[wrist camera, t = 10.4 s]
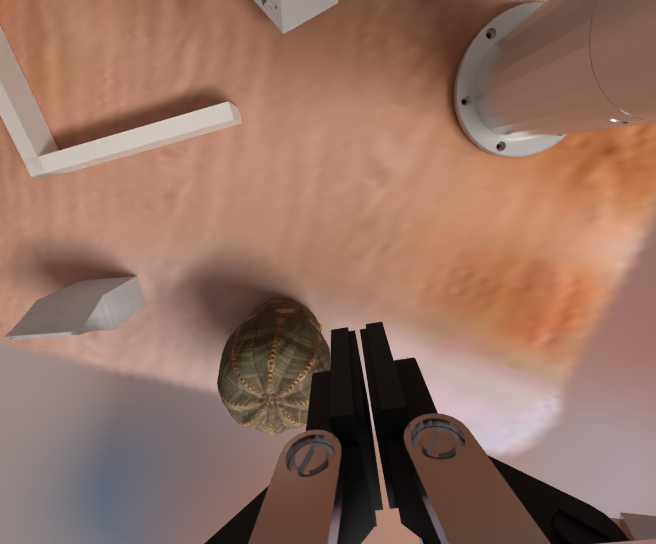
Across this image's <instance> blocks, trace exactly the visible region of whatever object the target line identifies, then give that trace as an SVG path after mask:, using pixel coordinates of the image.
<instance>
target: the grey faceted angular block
mask: <svg viewBox="0 0 656 544" xmlns="http://www.w3.org/2000/svg"><path fill="white" fill-rule="evenodd" d="M144 306H145V302H144V299H143V295H142V292H141V288H140V285H139V281H138V277H137V276H130V277H118V278H106V279H94V280H82V281H78V282H76V283H74V284H72V285H69V286H67V287H65V288H63V289H61V290H59V291H56V292H54V293H52V294H50V295H48V296H45V297H43V298H41V299H39V300H37V301H36V302H35V303H34V304H33V306H32V307H31V308H30V309H29V311H28V312H27V313H26V314H25V316H24V317H23V318H22V319H21V321H20V322H19V323H18V324H17V325H16V326H15V327H14V328H13V329H12V331H11V332H9V333H8V334H7V335H6V336H4V337H10V339H8V340H18V339H31V338H44V337H58V336H71V335H80V334H83V333H85V332H90V331H98V330H111V329H115V328H116V327H117V326H119V325H120V324H121V323H123V322H124V321H125V320H127V319H128V318H129V317H131V316H132V315H133V314H135V313H136V312H137V311H139V310H140V309H141V308H143V307H144Z"/></svg>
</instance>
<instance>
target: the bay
mask: <svg viewBox="0 0 656 544" xmlns="http://www.w3.org/2000/svg"><path fill="white" fill-rule="evenodd" d="M0 116H1V118H2V120H3V122H4V123H5V125H6V127H7V129H8V131H9V133H10V135H11V137H12V139H13V141H14V143H15V145H16V147H17V149H18V151H19V153H20V155H21V157H22V159H23V161H24V163H25V165H26V167H27V169H28V171H29V173H30V175H31V177H44V176H58V175H62V174H65V173H69V172H72V171H76V170H79V169H83V168H86V167H90V166H93V165H97V164H100V163H104V162H107V161H111V160H115V159H118V158H122V157H125V156H129V155H132V154H136V153H139V152H143V151H146V150H150V149H153V148H157V147H160V146H164V145H167V144H171V143H174V142H178V141H182V140H185V139H189V138H192V137H196V136H199V135H203V134H206V133H210V132H213V131H217V130H220V129H224V128H227V127H231V126H234V125H238V124H242V120H241V116H240V113H239V110H238V107H237V106H235V105H234V104H232V103H230V102H229V101H228V102H224V103H221V104H218V105H214V106H211V107H207V108H204V109H200V110H197V111H193V112H190V113H187V114H183V115H180V116H176V117H173V118H169V119H166V120H163V121H159V122H156V123H152V124H149V125H145V126H142V127H138V128H135V129H132V130H128V131H125V132H121V133H118V134H114V135H111V136H108V137H104V138H101V139H97V140H94V141H90V142H87V143H83V144H80V145H77V146H73V147H70V148H66V149H63V150H59V149H58V147H57V145H56V143H55V141H54V139H53V136H52V134H51V132H50V130H49V128H48V126H47V124H46V121H45V119H44V117H43V115H42V113H41V111H40V109H39V106H38V104H37V102H36V100H35V98H34V96H33V94H32V92H31V89H30V87H29V85H28V83H27V81H26V79H25V77H24V74H23V72H22V70H21V68H20V66H19V64H18V62H17V59H16V57H15V55H14V53H13V51H12V49H11V47H10V45H9V42H8V40H7V38H6V36H5V34H4V32H3V30H2V27H1V25H0Z"/></svg>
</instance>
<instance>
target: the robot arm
mask: <svg viewBox="0 0 656 544" xmlns="http://www.w3.org/2000/svg"><path fill="white" fill-rule="evenodd" d="M486 34H488V35H489V39H488V38H487V36H486ZM462 100H465V104H464V105H462V102H461V101H462ZM454 106H455V111H456V115H457V119H458V122H459V124H460V126H461V128H462V130H463V132H464V133H465V134H466V136H467V137H468V138H469V139H470V141H471V142H472V143H474V144H475V145H476V146H477V147H479V148H480V149H482V150H483V151H485V152H487V153H489V154H492V155H496V156H500V157H525V156H529V155H533V154H537V153H539V152H541V151H544V150H546V149H548V148H550V147H552V146H553V145H555V144H556V143H558V142H559V141H561V140H562V139H563V138H564V137H565V136H566V135H567V134H570V133H578V132H586V131H593V130H601V129H609V128H616V127H624V126H632V125H639V124H647V123H655V122H656V0H548V1H547V2H531V3H525V4H521V5H518V6H516V7H513V8H511V9H508V10H506V11H505V12H503V13H502V14H500V15H499V16H497V17H496V18H494V19H493V20H492V21H491V22H490V23H488V24H487V25H486V26H485V27H484V28H483V29H482V30H481V31H480V32H479V33H478V34H477V36H476V37H475V38H474V39H473V40H472V42H471V43H470V45H469V46H468V48H467V50H466V51H465V53H464V55H463V57H462V60H461V62H460V64H459V67H458V71H457V74H456V78H455V85H454ZM497 144H498V145H499V148H498V149H497V148H496V147H497ZM360 334H361V340H362V347H363V354H364V361H365V368H366V375H367V381H368V388H369V395H370V402H371V408H372V414H373V420H374V426H375V431H376V436H377V442H378V447H379V452H380V458H381V463H382V469H383V474H384V480H385V485H386V491H387V496H388V501H389V506H390V509H392V508H399V513H400V519H401V523H402V524H403V525H404V526H405V527H407V528H408V529H409V530H411V531H412V532H413V533H415V534H416V535H417V536H418V537H419V540H420V544H656V516H648V515H639V514H629V513H620V519H615V518H609V517H608V516H606V515H605V514H604V513H602V512H601V511H599V510H597V509H596V508H594V507H592V506H591V505H589V504H587V503H585V502H583V501H581V500H579V499H577V498H575V497H572V496H571V495H568V494H566V493H564V492H562V491H560V490H558V489H556V488H554V487H552V486H550V485H548V484H546V483H544V482H542V481H540V480H537V479H536V478H533V477H531V476H529V475H527V474H525V473H523V472H521V471H519V470H517V469H515V468H513V467H511V466H509V465H507V464H505V463H503V462H500V461H498V460H496V459H494V458H492V457H490V456H488V455H487V454H486V453H485V451H484V450H483V449H482V447H481V446H480V445H479V443H478V442H477V440H476V439H475V438H474V436H473V435H472V433H471V432H470V431H469V429H468V428H467V427H466V426H465V425H464V424H463V423H462V422H460V421H459V420H457V419H455V418H454V417H451V416H448V415H444V414H438V413H437V410H436V408H435V406H434V403H433V401H432V398H431V396H430V393H429V391H428V388H427V386H426V383H425V381H424V379H423V376H422V374H421V371H420V369H419V366H418V364H417V361H416V359H415V358H408V359H401V360H394V361H393V357H392V354H391V351H390V347H389V344H388V340H387V337H386V334H385V330H384V327H383V323H382V322H377V323H371V324H366V329H361V330H360ZM375 510H383V506H382V498H381V492H380V484H379V476H378V469H377V462H376V455H375V447H374V440H373V433H372V425H371V418H370V411H369V404H368V398H367V393H366V388H365V382H364V377H363V371H362V366H361V361H360V355H359V350H358V345H357V339H356V334H355V331H349V330H348V327H346V328H340V329H334V330H331V362H330V370H329V371H322V372H316V373H313V374H312V381H311V390H310V399H309V408H308V417H307V426H306V432H303V433H300V434H298V435H297V436H295V437H294V438H292V439H291V440H290V441H289V442H288V443H287V444H286V445H285V447H284V448H283V450H282V452H281V454H280V456H279V459H278V462H277V464H276V467H275V470H274V473H273V476H272V478H271V481H270V484H269V486H268V487H267V488H266V489H265V490H263V491H262V492H261V493H260V494H259V495H258V496H257V497H256V498H255V499H254V500H252V501H251V502H250V503H249V504H248V505H247V506H246V507H245V508H243V509H242V510H241V511H240V512H239V513H238V514H237V515H236V516H235V517H233V518H232V519H231V520H230V521H229V522H228V523H227V524H226V525H225V526H224V527H222V528H221V529H220V530H219V531H218V532H217V533H216V534H215V535H214V536H212V537H211V538H210V539H209V540H208V541H207V542H206V543H205V544H363V541H364V539H365V538H366V537H367V535H368V534H369V533H370V532H371V530H372V529H373V528H374V527H375V526H377V525H376V515H375Z"/></svg>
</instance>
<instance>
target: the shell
mask: <svg viewBox="0 0 656 544" xmlns="http://www.w3.org/2000/svg"><path fill="white" fill-rule="evenodd" d="M321 330H322V325H320V324H318V321H317V319H316V317H315V316H314V314H313V313H312V312H311V311H310V310H309V309H308V308H306V307H305V306H303V305H301V304H299V303H297V302H294V301H289V300H287V299H282V300H281V299H270V300H269V302H267V303H265V304H263V305H261V306H259V307H257V308H256V309H255V310H254V311H253V312H252V313H251V314H250V315H249V316H248V318H247V319H246V321H245V322H244V323H242V324H241V325H240V326H239V327H238V328H237V329H236V330H235V332H234V333H233V334H232V335H231V336H230V337H229V339H228V340H227V342H226V345H225V347H224V350H223V353H222V358H221V362H220V369H219V375H218V382H217V384H218V391H219V393H220V396H221V398H222V402H223V403H224V405H225V406H226V407H227V409H228V411H229V413H230V414H231V416H232V417H233V418H234V419H235V420H236V421H237V423H238V424H239V425H241V426H244V427H246V428H255V429H257V430H259V431H260V432H263V433H266V434H268V435H274V434H278V433H282V432H284V431H286V430H287V429H293V428H299V427H301V426H303V425H304V424H305V423H306V422H307V417H308V408H309V399H310V390H311V381H312V374H313V373H316V372H322V371H329V370H330V350H329V347H328V345H327V343H326V341H325V339H324V338H323V336H322V334H321Z"/></svg>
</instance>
